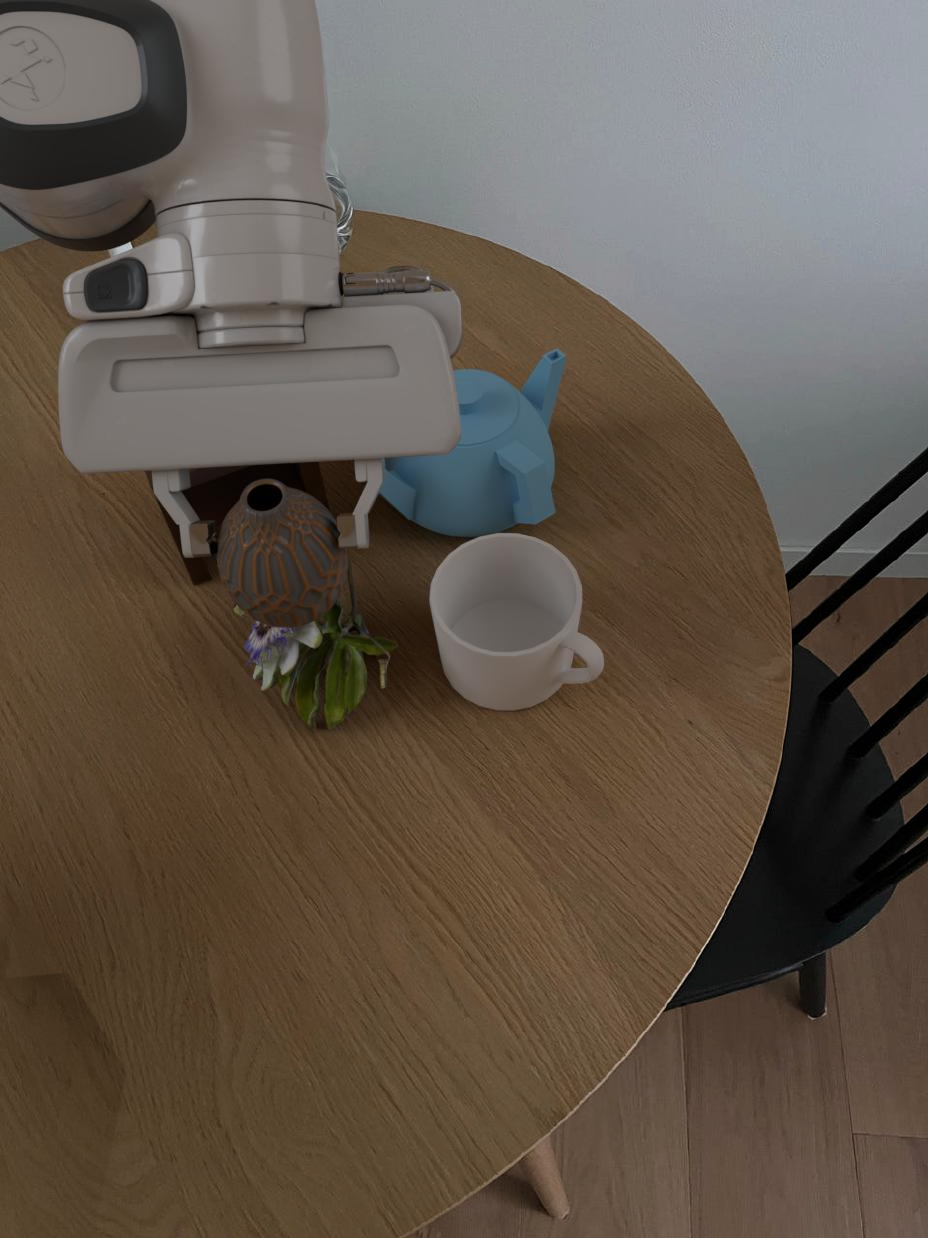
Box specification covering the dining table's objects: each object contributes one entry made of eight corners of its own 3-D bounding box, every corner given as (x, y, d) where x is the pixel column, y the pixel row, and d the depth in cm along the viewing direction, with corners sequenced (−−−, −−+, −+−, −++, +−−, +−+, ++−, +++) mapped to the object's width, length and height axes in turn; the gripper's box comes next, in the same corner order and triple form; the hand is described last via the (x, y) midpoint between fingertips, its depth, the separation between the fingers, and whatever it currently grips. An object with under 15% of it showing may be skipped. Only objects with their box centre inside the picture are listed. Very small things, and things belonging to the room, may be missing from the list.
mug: (407, 663, 79) (397, 602, 72) (496, 574, 83) (494, 508, 77) (550, 766, 74) (554, 710, 67) (637, 665, 78) (649, 603, 71)
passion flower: (288, 688, 85) (242, 548, 80) (419, 662, 83) (379, 518, 79) (253, 758, 74) (198, 602, 70) (403, 730, 73) (355, 568, 68)
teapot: (363, 551, 85) (345, 460, 76) (389, 415, 93) (375, 318, 84) (554, 561, 84) (558, 469, 75) (563, 422, 92) (568, 325, 83)
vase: (243, 547, 62) (207, 444, 55) (360, 547, 62) (339, 444, 55) (225, 646, 59) (183, 550, 51) (349, 648, 58) (325, 551, 51)
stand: (193, 586, 84) (150, 486, 74) (153, 483, 90) (108, 378, 80) (335, 532, 86) (311, 428, 76) (286, 435, 93) (258, 328, 83)
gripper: (460, 274, 56) (473, 534, 59) (76, 296, 56) (107, 553, 59) (459, 258, 50) (474, 549, 53) (28, 282, 50) (65, 570, 53)
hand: (276, 552), depth 56 cm, fingers closed on vase, 7 cm apart
